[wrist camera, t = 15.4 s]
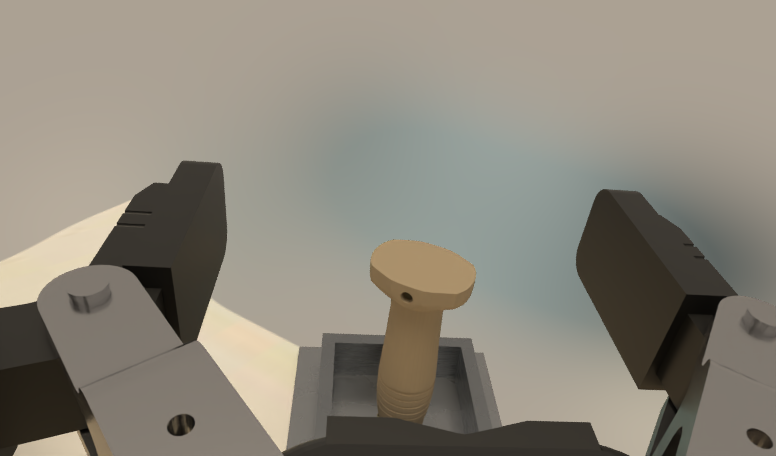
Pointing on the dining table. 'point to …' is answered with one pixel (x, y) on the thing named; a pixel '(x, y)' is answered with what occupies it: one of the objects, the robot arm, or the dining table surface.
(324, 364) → the grey square tray
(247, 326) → the dining table surface
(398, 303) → the handle
